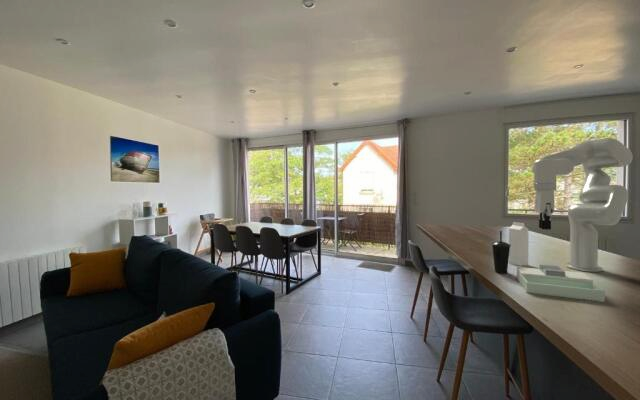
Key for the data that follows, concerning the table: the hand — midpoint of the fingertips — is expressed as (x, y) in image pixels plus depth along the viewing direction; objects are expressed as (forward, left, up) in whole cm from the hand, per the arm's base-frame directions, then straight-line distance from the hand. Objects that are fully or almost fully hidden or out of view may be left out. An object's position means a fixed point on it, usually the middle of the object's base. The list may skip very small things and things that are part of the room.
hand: (544, 228), depth 117 cm
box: (+19, 0, -22) cm, 29 cm away
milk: (-20, -6, -22) cm, 31 cm away
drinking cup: (-2, -16, -22) cm, 28 cm away
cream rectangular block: (+10, 0, -22) cm, 24 cm away
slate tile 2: (+12, 0, -17) cm, 21 cm away
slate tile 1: (+7, 0, -17) cm, 19 cm away
